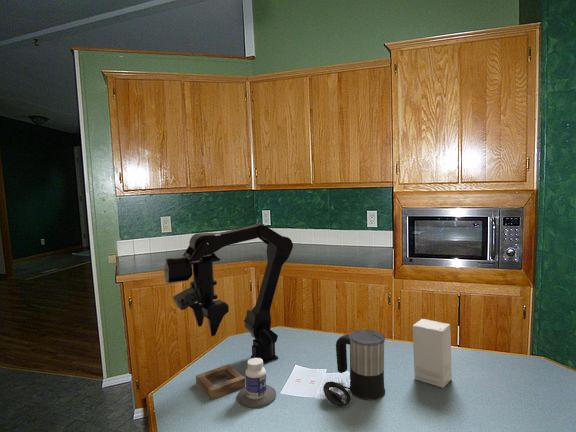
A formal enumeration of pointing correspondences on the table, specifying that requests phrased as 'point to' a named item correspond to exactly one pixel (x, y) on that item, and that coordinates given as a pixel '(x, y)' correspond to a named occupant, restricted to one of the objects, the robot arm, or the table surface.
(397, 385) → the table surface
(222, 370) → the collar block
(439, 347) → the skincare box
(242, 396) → the mat
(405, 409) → the table surface
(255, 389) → the pill bottle
